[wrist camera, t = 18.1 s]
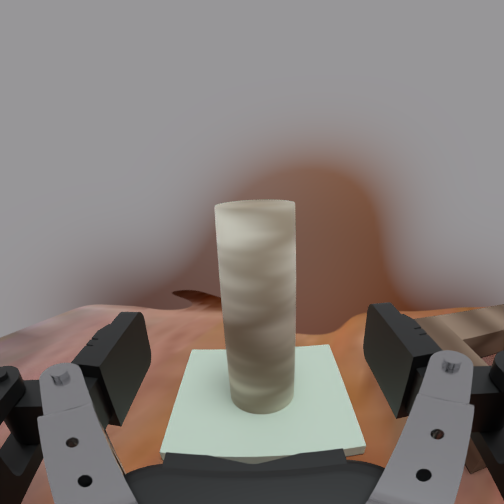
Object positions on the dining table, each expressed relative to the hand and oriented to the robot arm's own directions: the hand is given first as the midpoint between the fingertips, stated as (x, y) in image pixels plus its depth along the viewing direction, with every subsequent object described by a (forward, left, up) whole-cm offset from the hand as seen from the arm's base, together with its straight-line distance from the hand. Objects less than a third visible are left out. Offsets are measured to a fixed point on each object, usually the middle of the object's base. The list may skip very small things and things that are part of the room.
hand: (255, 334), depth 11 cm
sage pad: (0, +8, -10) cm, 13 cm away
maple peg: (0, +8, -9) cm, 12 cm away
